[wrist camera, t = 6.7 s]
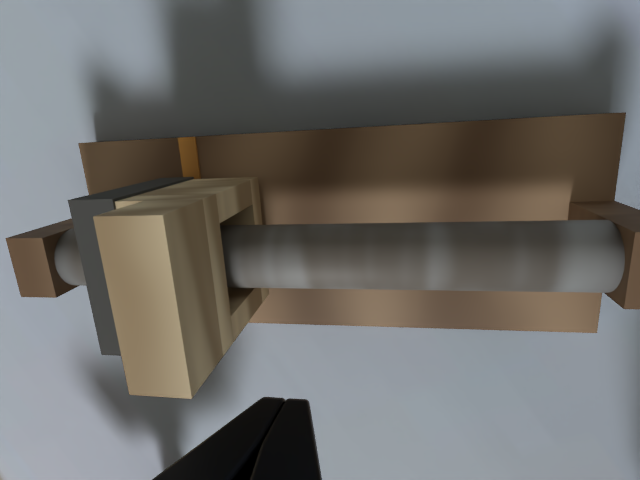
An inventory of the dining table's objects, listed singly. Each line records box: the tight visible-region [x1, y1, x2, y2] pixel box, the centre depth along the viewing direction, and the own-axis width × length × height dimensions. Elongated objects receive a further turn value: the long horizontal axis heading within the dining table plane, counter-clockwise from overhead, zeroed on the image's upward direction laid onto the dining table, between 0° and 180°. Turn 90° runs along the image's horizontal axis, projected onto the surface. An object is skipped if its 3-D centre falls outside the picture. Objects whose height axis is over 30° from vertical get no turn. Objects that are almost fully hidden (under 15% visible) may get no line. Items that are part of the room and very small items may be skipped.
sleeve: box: [93, 177, 269, 399], centre depth 15 cm, size 3×5×8 cm, turn 3°
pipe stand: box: [6, 113, 640, 333], centre depth 17 cm, size 23×9×6 cm, turn 93°
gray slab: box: [68, 177, 194, 356], centre depth 17 cm, size 2×6×6 cm, turn 4°
